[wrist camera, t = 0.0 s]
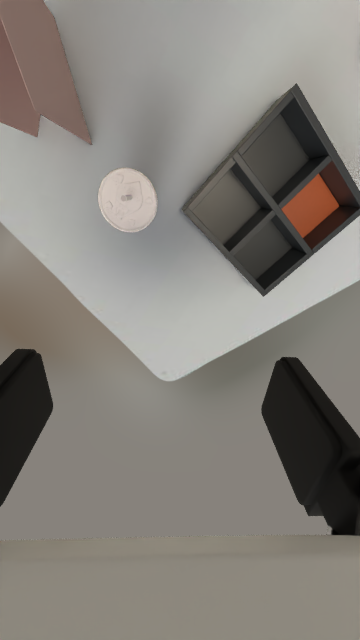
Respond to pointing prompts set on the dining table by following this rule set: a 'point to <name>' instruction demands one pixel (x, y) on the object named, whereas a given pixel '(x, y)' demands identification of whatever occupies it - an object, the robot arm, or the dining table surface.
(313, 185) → the crate
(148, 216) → the smoothie
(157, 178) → the dining table surface
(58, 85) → the greeting card
